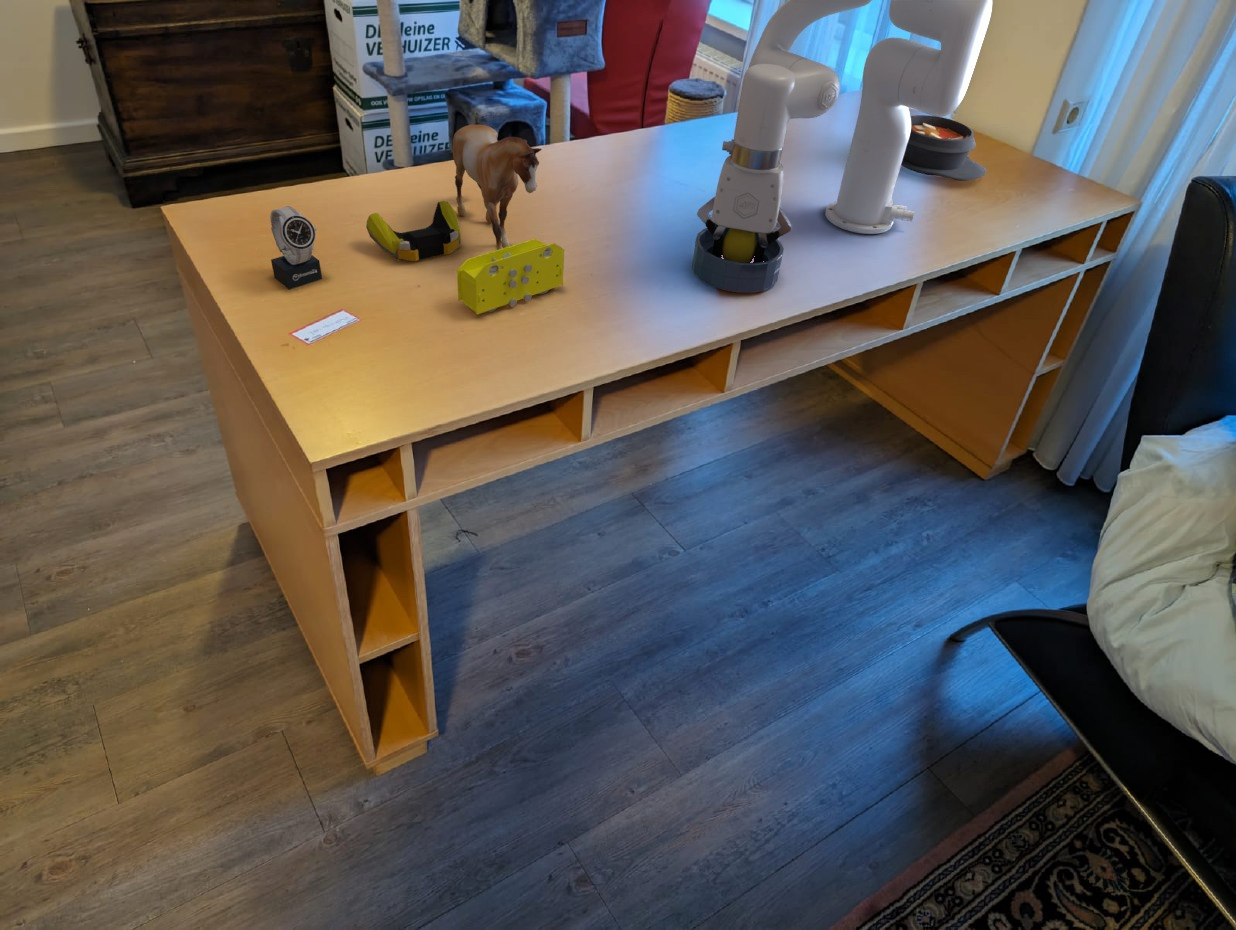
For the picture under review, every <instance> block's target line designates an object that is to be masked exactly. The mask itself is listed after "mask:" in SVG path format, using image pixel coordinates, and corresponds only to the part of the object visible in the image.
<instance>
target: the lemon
mask: <svg viewBox="0 0 1236 930" xmlns="http://www.w3.org/2000/svg"><path fill="white" fill-rule="evenodd" d="M756 247H757V239H756V235H755V232H750V231H744V230H738V229H733V228H730V229H729V230H728V232H727V233H726V235H725V237H724V240H723V244H722V255H723V258H724V259H725V260H728V261H733V262H738V263H750V262H751V261H752V259H753V258H754V256H755V252H756Z"/></svg>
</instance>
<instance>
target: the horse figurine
mask: <svg viewBox="0 0 1236 930" xmlns="http://www.w3.org/2000/svg"><path fill="white" fill-rule="evenodd" d="M498 137H499V133H498V132H497V130H496V129H494V128H492V127H491V126H488V125H485V124H467V125H464V126H463V127H461V128H459V129H458V130H457V131H456V132H455V133H454V135H453V138H452V157H453V162H454V165H455V176H454V179H455V180H454V184H455V187H456V199H455V200H456V203H457V206H456V209H457V211H456V212H457V214H458V216H460V217H465V216H466V215H467V214H468V212H467V210H466V207H465V205H464V204H463V203H464V202H463V196H462V187H463V184H464V180H463V178H464V175H465V172H466V174H467V175H468V177H469V178H471V179H472V180H473V181H474V182H475V183H476V184H477V186H478V187H479V189H480V191H481V197H482V198H483V205H484V208H485V209H486V212H485V221H486V222H487V223H488V224H491V228H492V234H493V235H494V237H495V242H496V243H495V245H496V250H499V249H502V248H506V247H509V246H511V245H510V242H509V239H508V238H507V236H506V228H505V221H506V219H507V216H508V206H509V204H510V202H511V200H512V198H513V196H514V193H515V192H516V191H517V189H518V187H519V178H520V180H521V181H522V183H523V185H524V188H525V192H526V193H528V194H532V193H534V192H535V191H536V190H537V188H538V184H537V181H536V175H537V173H536V172H537V169H538V166H539V165H540V161H539V159H538V157H537V155H536V154H538V153H539V152H540V151H542V148H537V147H535V148H533V147H531V146H530V145H529V144H528V140H527V139H523V138H522V137H517V136H507V137H504V138H502V139H499V140H498ZM498 204H499V208H498V210H497V205H498ZM497 211H498V212H497Z"/></svg>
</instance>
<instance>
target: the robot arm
mask: <svg viewBox="0 0 1236 930" xmlns="http://www.w3.org/2000/svg"><path fill="white" fill-rule="evenodd" d="M872 1H873V0H786V1H785V2H784V3H783V4H782V5H781V6H779V8H778V9H776V11H775V12H774V13H773V15H772V16H771V17H770V19H769V20H768V21H767V23H766V25H765V27H764V29H763V31H762V33H761V36H760V37H759V39H758V42H757V45H756V46H755V48H754V51H753V54H752V55H751V58H750V61H749V64H748V67H747V70H746V71H745V72H744V75H743V80H742V85H741V90H740V98H739V103H738V108H737V115H736V121H735V127H734V135H733V138H731V140H728V141H726V140H723V143H722V148H721V151H725V152H726V153H728V156H727V157H726V158H725V160H724V162H723V164H722V167H721V170H720V172H719V173H720V174H719V178H718V181H717V186H716V189H715V190H716V191H715V195H714V196H713V197H712V198H711V199H710V200H708V201H707V202H706V203H705V204H703V205H702V206H701V207H699V208H698V210H697V212H696V215H697V217H698V218H699V219H700V221H701V222H702V223H703V224H704V225H705V228H707V229H708V230H709V231H710V233H711V234H712V235H713V238H714V244H713V250H712V255H715V256H716V257H719V258H721V254H722V244H723V240H724V236H725V235H724V230H725V228H726V227H727V228H733V229H738V230H744V231H750V232H756V233H758V235H759V241H758V243H757V247H756V252H755V257H754V262H753V263H761V262H763V257H764V252H765V248H766V247H767V246H768V245H769V244H771V243H772V242H774V241H775V240H777V239H778V240H779V238H780V237H783V236H785V235H786V234H788V233H790V232H791V231H792V227H793V225H792V223H791V222H790V220H789V219H788V217H787V215H786V214H785V212H784V210H783V209H782V207H781V201H782V195H783V189H784V165H783V163H781V160H782V154H783V150H784V143H785V138H786V134H787V129H788V124H789V121H790V120H791V119H814V118H818V117H820V116H822V115H824V114H826V113H827V112H829V111H830V110H831V109H832V107H834V105H835V103H836V102H837V100H838V98H839V95H840V90H841V83H840V79H839V76H838V75H837V73H836V71H834V70H833V69H832V68H831V67H830V66H828V65H826V64H823V63H821V62H819V61H815V60H812V59H809V58H807V57H804V56H801V55H799V54H796V53H793V52H790V50H791V48H792V45H793V44H794V42H795V41H796V39H797V38H798V37H799V35H800V34H801V33H802V32H803V31H804V30H805V29H806V28H808V27H809V26H810V25H812V24H813V23H815V22H817V21H819V20H821V19H823V18H825V17H828V16H830V15H835V14H839V13H843V12H846V11H850V10H856V9H859V8H862V7H865V6H867V5H869V4H870V3H871V2H872ZM992 11H993V0H890V2H889V9H888V17H889V20H890V22H891V23H892V25H893V26H895V27H896V28H897V29H899V30H902V31H904V32H907V33H910V34H912V35H913V34H914V35H916V36H920V37H923V38H926V39H930V40H933V41H937V42H939V43H940V49H939V48H937V47H932V46H930V45H927V44H923V43H920V42H917V41H914V40H911V39H907V38H903V37H887V38H884V39H882V40H879V41H878V42H877V43H875V44H874V45H873V47H872V48H871V49H870V50H869V52H868V54H867V56H866V59H865V62H864V66H863V70H862V71H863V72H862V87H861V96H860V97H861V98H860V104H859V109H858V114H857V119H856V122H855V128H854V131H853V135H852V139H851V143H850V146H849V151H848V155H847V159H846V162H845V167H844V171H843V175H842V179H841V182H840V186H839V190H838V194H837V199H836V201H833V202H831V203H829V204H828V205H827V206H826V208H825V213H824V215H825V218H826V219H827V221H829V223H831V224H832V225H834V226H836V227H838V228H840V229H842V230H844V231H848V232H851V233H857V234H863V235H878V234H883V233H886V232H888V231H890V229H891V228H892V227H893V224H894V221H895V220H901V221H904V222H908V223H909V222H910V223H911V222H912V221H913V218H914V216H915V211H914V210H909V209H907V208H908V206H906V205H902V204H900V205H898V204H895V202H893V194H894V190H895V187H896V183H897V180H898V176H899V173H900V170H901V163H902V160H903V156H904V153H905V150H906V146H907V143H908V140H909V137H910V132H911V117H910V116H911V113H910V109H912V110H914V111H917V112H921V113H923V114H926V115H928V116H937V117H942V118H943V117H946V116H949V115H950V114H952V113H954V112H955V111H956V109H957V108H958V107H959V106H960V104H961V103H962V101H963V99H964V97H965V95H966V92H967V90H968V87H969V85H970V82H971V78H972V75H973V73H974V69H975V67H976V64H977V61H978V57H979V55H980V52H981V48H982V45H983V42H984V39H985V35H986V33H987V30H988V26H989V24H990V19H991V16H992ZM710 213H711V214H710ZM777 222H778V223H777ZM777 224H779V226H778V227H777V228H776V226H777Z"/></svg>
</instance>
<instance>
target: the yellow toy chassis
mask: <svg viewBox="0 0 1236 930" xmlns="http://www.w3.org/2000/svg"><path fill="white" fill-rule="evenodd" d="M564 263H565V249H564V248H563V247H562V246H560V245H559V244H557V243H556V242H552V243H549V244H546V243H545V242H542V241H541V240H539V239H537V238H532V239H529V240H526V241H522V242H519V243H515V244H512V245H510V246H509V247H506V248H502V249H499V250H497V249H496V250H493V251H489V252H486V253H483V254H480V255H476V256H473V257H469V258H467V259H466V260H465V261H464V262H463V263H462V264H461V265H460V266H459V267H458V268H457V270H456V281H457V299H458V301H462V303H463V304H464V305H465V306H467V307H468V308H469V309H470V310H472V311H473V312H475V314H476V315H480V314H482V313H492V312H495V311H496V310H497V309H498V308H500V307H503V306H506V305H509V306H510V307H512V308H514V307H515V306H517V304H518V301H520V300H524V301H525V302H530V301H531V300H532V296H535V295H544V294H547V293H549V290H552V289H555V288H558V287H561V286H564V270H565V269H564V268H565V264H564Z"/></svg>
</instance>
